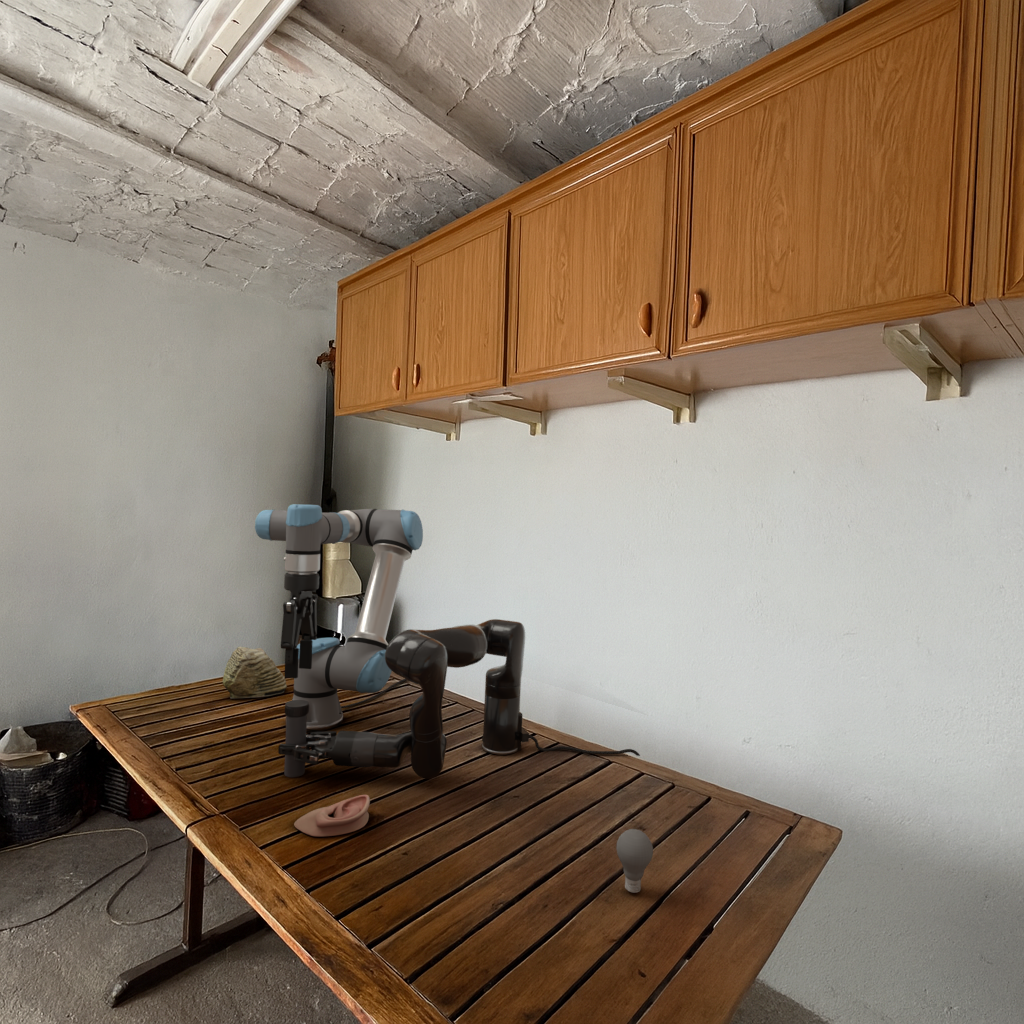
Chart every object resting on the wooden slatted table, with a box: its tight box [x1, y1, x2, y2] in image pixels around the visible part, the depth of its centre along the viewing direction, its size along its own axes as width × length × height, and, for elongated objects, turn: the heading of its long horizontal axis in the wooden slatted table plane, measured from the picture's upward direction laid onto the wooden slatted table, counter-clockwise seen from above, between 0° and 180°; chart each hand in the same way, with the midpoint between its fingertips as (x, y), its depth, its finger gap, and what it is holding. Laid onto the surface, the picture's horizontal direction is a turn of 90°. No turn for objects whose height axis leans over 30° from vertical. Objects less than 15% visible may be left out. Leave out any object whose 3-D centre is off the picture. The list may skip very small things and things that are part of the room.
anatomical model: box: [293, 794, 371, 837], centre depth 123 cm, size 13×4×12 cm
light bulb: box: [615, 828, 654, 894], centre depth 106 cm, size 6×6×10 cm
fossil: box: [222, 646, 288, 699], centre depth 198 cm, size 9×18×15 cm, turn 132°
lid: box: [284, 700, 309, 717], centre depth 144 cm, size 5×5×2 cm
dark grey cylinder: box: [283, 714, 307, 778], centre depth 144 cm, size 4×4×16 cm
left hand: (298, 672), depth 144 cm, fingers open, 7 cm apart
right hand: (284, 744), depth 144 cm, fingers closed on dark grey cylinder, 4 cm apart
